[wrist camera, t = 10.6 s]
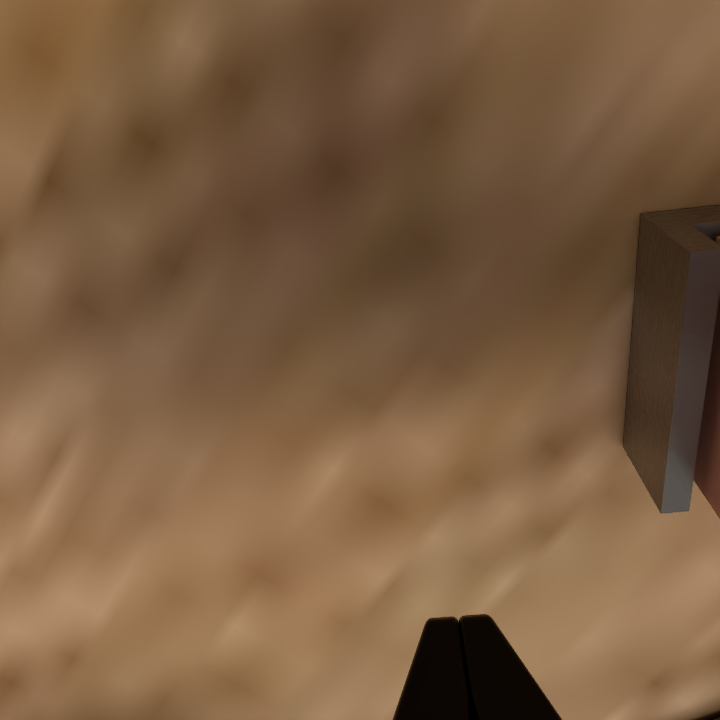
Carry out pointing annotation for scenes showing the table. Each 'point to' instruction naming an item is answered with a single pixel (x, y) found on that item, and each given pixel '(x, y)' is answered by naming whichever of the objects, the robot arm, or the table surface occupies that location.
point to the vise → (671, 348)
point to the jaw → (711, 427)
